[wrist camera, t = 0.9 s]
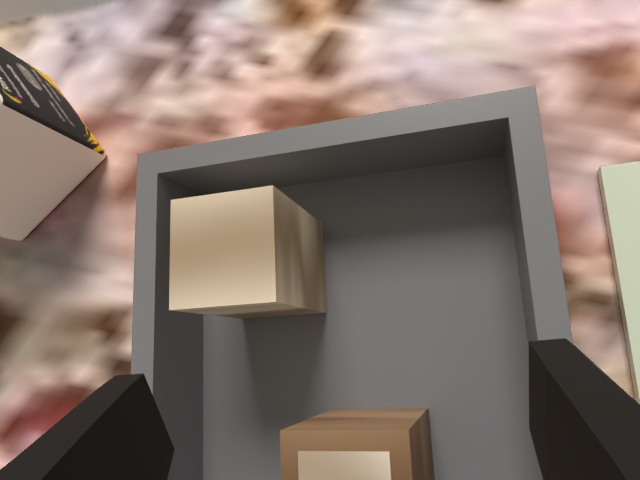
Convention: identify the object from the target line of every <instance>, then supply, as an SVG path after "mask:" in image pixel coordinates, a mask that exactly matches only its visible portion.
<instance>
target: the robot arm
mask: <svg viewBox="0 0 640 480" xmlns="http://www.w3.org/2000/svg"><path fill="white" fill-rule="evenodd" d="M529 429H530V433H531V437H532V441H533V444H534V448H535V452H536V456H537V459H538V463H539V466H540V470H541V473H542V477H543V480H640V404H639V403H638V402H636V401H635V400H634V399H633V398H632V397H631V396H630V395H628V394H627V393H626V392H625V391H624V390H623V389H622V388H621V387H619V386H618V385H617V384H616V383H615V382H614V381H613V380H612V379H610V378H609V377H608V376H607V375H606V374H605V373H604V372H603V371H602V370H601V369H599V368H598V367H597V366H596V365H595V364H594V363H593V362H592V361H591V360H590V359H589V358H588V357H586V356H585V355H584V354H583V353H582V352H581V351H580V350H579V349H578V348H577V347H576V346H575V345H573V344H572V343H571V342H570V341H569V340H567V339H566V338H562V339H550V340H538V341H529ZM174 450H175V449H174V446H173V444H172V441H171V439H170V437H169V434H168V432H167V429H166V427H165V424H164V422H163V419H162V417H161V414H160V412H159V410H158V407H157V405H156V402H155V400H154V397H153V395H152V392H151V390H150V388H149V385H148V383H147V380H146V378H145V375H144V373H142V374H130V375H118V376H114V377H113V378H112V379H110V380H109V381H107V382H106V383H105V384H103V385H102V386H101V387H100V388H98V389H97V390H96V391H95V392H93V393H92V394H91V395H90V396H88V397H87V398H86V399H85V400H84V401H82V402H81V403H80V404H79V405H78V406H76V407H75V408H74V409H73V410H72V411H70V412H69V413H68V414H67V415H66V416H65V417H63V418H62V419H61V420H60V421H59V422H58V423H56V424H55V425H54V426H53V427H52V428H50V429H49V430H48V431H47V432H46V433H44V434H43V435H42V436H41V437H40V438H38V439H37V440H36V441H35V442H34V443H33V444H31V445H30V446H29V447H28V448H27V449H25V450H24V451H23V452H22V453H21V454H19V455H18V456H17V457H16V458H15V459H13V460H12V461H11V462H10V463H8V464H7V465H6V466H5V467H3V468H2V469H1V470H0V480H167V478H168V474H169V470H170V466H171V462H172V458H173V454H174Z"/></svg>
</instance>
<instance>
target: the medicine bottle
mask: <svg viewBox="0 0 640 480" xmlns="http://www.w3.org/2000/svg"><path fill="white" fill-rule="evenodd" d="M105 156H106V153H105V151H104V149H103V148H102V147H101V145H100V144H99V143H98V141H97V140H96V138H95V137H94V136H93V134H92V133H91V132H90V130H89V129H88V128H87V126H86V125H85V124H84V122H83V121H82V120H81V118H80V117H79V115H78V114H77V113H76V111H75V110H74V109H73V107H72V106H71V105H70V103H69V102H68V101H67V99H66V98H65V97H64V95H63V94H62V92H61V91H60V90H59V88H58V87H57V86H56V84H55V83H54V82H53V80H52V79H51V78H50V77H48V76H47V75H45V74H43V73H42V72H40V71H39V70H37V69H35V68H34V67H32V66H31V65H29V64H27V63H26V62H24V61H23V60H21V59H19V58H18V57H16V56H14V55H13V54H11V53H10V52H8V51H6V50H5V49H3V48H2V47H0V237H3V238H7V239H11V240H16V241H21V240H23V239H24V238H25V237H26V236H27V235H28V234H29V233H30V232H31V231H32V230H33V229H34V228H35V227H36V226H37V225H38V224H39V223H40V222H41V221H42V220H43V219H44V218H45V217H46V216H47V215H48V214H49V213H50V212H51V211H52V210H53V209H54V208H55V207H56V206H57V205H58V204H59V203H60V202H61V201H62V200H63V199H64V198H65V197H66V196H67V195H68V194H69V193H70V192H71V191H72V190H73V189H74V188H75V187H76V186H77V185H78V184H79V183H80V182H81V181H82V180H83V179H84V178H85V177H86V176H87V175H88V174H89V173H90V172H91V171H92V170H93V169H94V168H95V167H96V166H97V165H98V164H99V163H100V162H101V161H102V160H103V159H104V158H105Z"/></svg>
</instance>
